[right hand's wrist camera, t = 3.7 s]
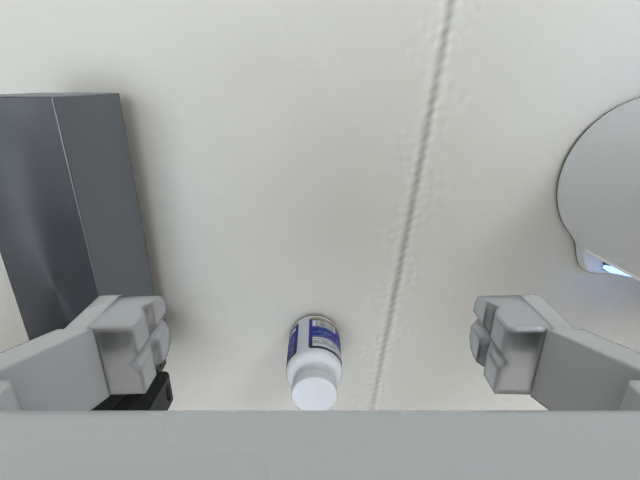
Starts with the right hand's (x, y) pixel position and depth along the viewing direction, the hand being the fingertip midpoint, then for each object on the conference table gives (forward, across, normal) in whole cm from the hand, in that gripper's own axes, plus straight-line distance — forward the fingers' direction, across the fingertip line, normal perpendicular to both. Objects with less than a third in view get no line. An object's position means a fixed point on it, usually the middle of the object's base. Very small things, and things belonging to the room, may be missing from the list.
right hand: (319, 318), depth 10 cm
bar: (+24, -19, -8) cm, 31 cm away
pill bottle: (+27, -1, -19) cm, 33 cm away
